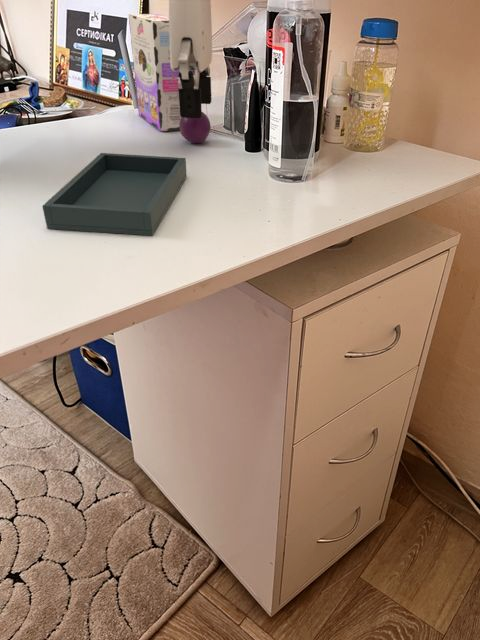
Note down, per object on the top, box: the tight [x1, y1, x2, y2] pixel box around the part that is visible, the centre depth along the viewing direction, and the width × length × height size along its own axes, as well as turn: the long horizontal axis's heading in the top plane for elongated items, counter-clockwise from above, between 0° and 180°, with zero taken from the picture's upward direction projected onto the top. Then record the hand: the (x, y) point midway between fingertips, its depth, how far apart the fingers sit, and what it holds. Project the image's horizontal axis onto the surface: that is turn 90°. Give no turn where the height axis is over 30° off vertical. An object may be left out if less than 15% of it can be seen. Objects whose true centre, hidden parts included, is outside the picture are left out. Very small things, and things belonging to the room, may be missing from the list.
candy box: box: [128, 13, 181, 132], centre depth 92 cm, size 14×6×16 cm, turn 27°
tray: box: [42, 152, 188, 237], centre depth 65 cm, size 12×20×3 cm, turn 176°
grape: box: [179, 111, 211, 144], centre depth 86 cm, size 5×5×5 cm
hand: (196, 110), depth 84 cm, fingers open, 9 cm apart
